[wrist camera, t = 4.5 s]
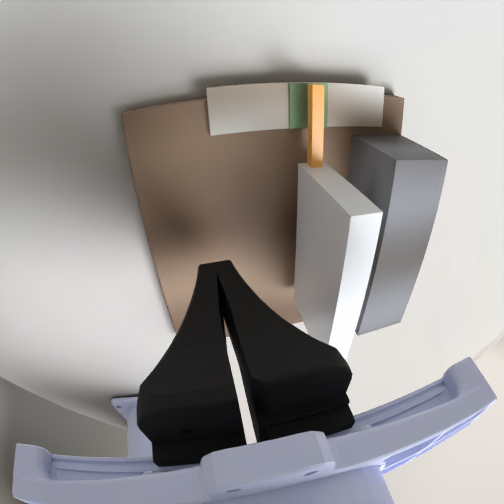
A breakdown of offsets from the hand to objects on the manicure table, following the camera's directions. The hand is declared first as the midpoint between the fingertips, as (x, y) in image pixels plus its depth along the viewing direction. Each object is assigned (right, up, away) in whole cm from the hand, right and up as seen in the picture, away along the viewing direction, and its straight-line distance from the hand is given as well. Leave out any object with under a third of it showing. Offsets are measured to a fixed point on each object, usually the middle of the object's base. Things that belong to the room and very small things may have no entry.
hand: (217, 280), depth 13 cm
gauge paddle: (+4, +3, +1) cm, 5 cm away
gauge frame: (+2, +2, +3) cm, 5 cm away
